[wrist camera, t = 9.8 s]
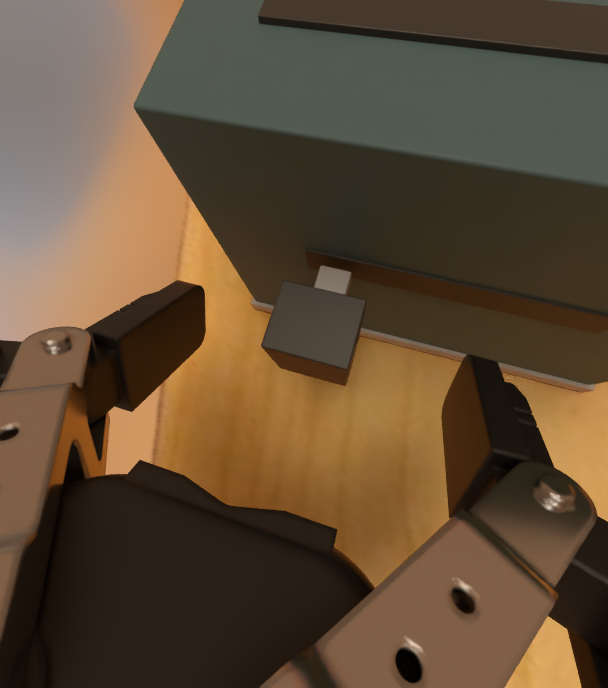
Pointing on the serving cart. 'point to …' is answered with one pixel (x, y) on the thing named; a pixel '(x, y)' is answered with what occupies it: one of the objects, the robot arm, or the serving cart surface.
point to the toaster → (406, 164)
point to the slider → (316, 327)
